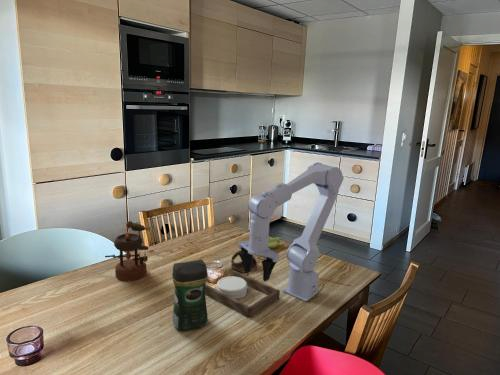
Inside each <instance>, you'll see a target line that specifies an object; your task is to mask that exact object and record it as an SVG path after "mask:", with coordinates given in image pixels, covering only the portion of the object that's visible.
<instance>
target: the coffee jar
mask: <svg viewBox="0 0 500 375" xmlns="http://www.w3.org/2000/svg"><path fill="white" fill-rule="evenodd" d="M208 278H209V274H208V267H207V264H206V262H204V260H203V259H202V258H200V259H195V260H188V261H182V262H175V263H174V264H173V266H172V274H171V279H172V282H173V284H174V298H173V308H172V309H173V310H172V324H173V326H174V328H176V330H178V331H181V332H185V331H190V330H195V329H199V328H201V327H204V326H206V324H207V323H208V308H207V299H206V295H205V284H206V285H207V281H208Z"/></svg>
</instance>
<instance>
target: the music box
mask: <svg viewBox="0 0 500 375" xmlns="http://www.w3.org/2000/svg"><path fill="white" fill-rule="evenodd" d="M125 226H126V231H127V232H126V233H123V234H119V235H118V236H116V237H115V239H114V241H113V246H114V247H115V248H116V249H117V250H118V251H119V254H118V255H115V254H113V255H105V256H104V258H113V259H115V258H118V259H119V262H118V263H117V264H116V265H115V268H114V269H115V271H114V272H115V278H116V279H117V280H118V281H122V282H134V281H139V280H141V279H143V278H144V277H146V275H147V263H146V262H147V261H148V255H146V254H147V253H146V252H143V253H144V255H142V256H141V254H140V253H141V252H139V251H148V250H149V246H148V245H143V242H146V237H145V236H146V232H145V230H146V231H150V230H151V227H150V226H149V227H148V226H145V225H142V224H140V223H137V222H134V221H131V220H128V221H126V223H125ZM129 229H131V230H132V231H134V232H138V233H137V234H136V233H130V231H128V230H129ZM142 231H143V233H144V234H143V236H144V238H142V235H141V232H142ZM143 239H144V241H143ZM133 251H134V254H131V252H133ZM124 252H126V254H125V255H124ZM132 257H133V258H132ZM124 258H126V259H125V260H124Z"/></svg>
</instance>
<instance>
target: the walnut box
mask: <svg viewBox="0 0 500 375" xmlns="http://www.w3.org/2000/svg"><path fill="white" fill-rule="evenodd" d="M231 276H235V277H240V278H242V279H244V280H245V281H246V282H247V288H248V287H249V288H251V289H253V290H255V291H257V292H259V293H262V294H263V295H265V297H263V298H261V299H259V300H258V301H256V302H255V303H253V304H252V305H250V306H249V305H248V304H246V303H243V302H241V301H240V300H239V299H234V298H232V297H230V296H228V295H226V294H224V293H222V292H220V291H218V290H217V288H214V287H212V286H210V285H209V284H207V283H206V284H205V296H208V298H211V299H212V300H215V301H216V302H218V303H220V304H222V305H224V306H225V307H228V308H229V309H231V310H233V311H236V312H237V313H238V314H241V315H243V316H244V317H246V318H248V319H251V318H253V317H255V316H256V315H257V314H258V313H260V312H262V311H263V310H265V309H266V308H268V307H269V306H271V305H272V304H274V303H275V302H276V301H278V300H280V296H281V295H280V293H281V291H280V289H277V288H275V287H272V286H271V285H268V284H267V283H264V282H262V281H259V280H257V279H255V278H253V277H251V276H248V275H245V274H243V273H241V272H239V271H238V270H236V269H232V270H231Z"/></svg>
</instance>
